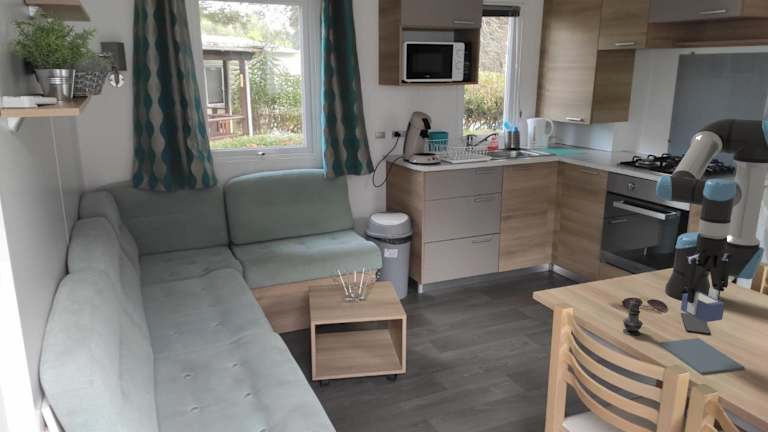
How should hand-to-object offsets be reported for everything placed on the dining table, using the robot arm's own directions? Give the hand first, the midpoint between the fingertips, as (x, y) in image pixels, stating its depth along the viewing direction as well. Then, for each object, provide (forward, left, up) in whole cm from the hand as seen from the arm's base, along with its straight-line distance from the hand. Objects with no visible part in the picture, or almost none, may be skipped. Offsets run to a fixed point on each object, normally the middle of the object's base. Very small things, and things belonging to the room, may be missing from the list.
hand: (701, 311), depth 169 cm
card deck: (0, 0, -1) cm, 1 cm away
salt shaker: (+10, -17, -14) cm, 24 cm away
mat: (0, +1, -14) cm, 14 cm away
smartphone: (-14, -18, -14) cm, 27 cm away
